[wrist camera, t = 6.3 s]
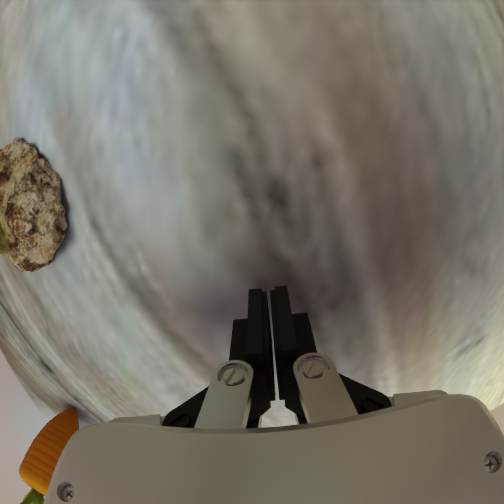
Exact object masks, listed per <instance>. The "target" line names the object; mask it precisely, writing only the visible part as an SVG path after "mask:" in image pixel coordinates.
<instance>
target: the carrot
mask: <svg viewBox="0 0 504 504" xmlns="http://www.w3.org/2000/svg"><path fill="white" fill-rule="evenodd" d="M77 430H79V423H78V415H77V412H76V410H75V408H70V409H67V410H65V411H63V412H62V413H60V414H58V415H57V416H55V417H54V418H53V419H51V420H50V421H49V422H48V423H47V424H46V425H45V427H44V428H43V429H42V430H41V431H40V432H39V434H38V435H37V436H36V438H35V439H34V440H33V442H32V444H31V446H30V447H29V450H28V451H27V453H26V455H25V457H24V459H23V461H22V463H21V465H20V469H19V474H20V476H21V478H22V479H23V481H24V482H25V483H26V484H27V485H29V486H30V487H31V488H32V489H31V491H30V492H29V493H28V494H27V495H26V497H25V498H24V500H23V502H22V503H20V504H31V503H32V502H33V503H32V504H44V501H45V500H44V498H43V496H46V494H47V491H48V488H49V484H50V481H51V478H52V475H53V473H54V470H55V467H56V465H57V463H58V460H59V458H60V456H61V453H62V451H63V449H64V448H65V446H66V444H67V442H68V441H69V439H70V438H71V436H72V435H73V434H74V433H75V432H76V431H77Z"/></svg>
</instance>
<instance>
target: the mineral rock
mask: <svg viewBox="0 0 504 504" xmlns="http://www.w3.org/2000/svg"><path fill="white" fill-rule="evenodd" d="M50 167H51V166H50V164H49V162H48V161H46V160H45V159H44V157H43V156H42V155H40V154H38V152H37V151H36V149H35V147H34V145H33V144H32V143H31V144H30V143H29V142H28V141H27V142H23V141H22V140H20V138H16V139H14V141H13V142H12V143H11V144H9V145H7V146H6V147H5V148H4V149H1V150H0V254H4V255H5V256H7V257H8V258H9V260H10V262H11V263H12V264H13V265H15V266H16V267H17V268H18V269H20V270H21V271H22V272H23V271H24V270H26V271H31V272H34V271H36V270H38V269H40V268H42V267H44V266H46V265H48V264H50V263H51V262H50V260H51V259H52V258H53V256H54V253H55V252H56V249H58V248H59V246H60V245H61V243H62V241H63V238H64V237H65V229H66V228H67V226H68V224H67V223H66V220H65V215H64V213H65V212H66V211H65V209H64V207H63V205H62V203H61V186H62V185H61V179H60V176H59V174H58V173H56V172H55V171H53V170H52V169H50Z"/></svg>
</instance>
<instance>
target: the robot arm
mask: <svg viewBox="0 0 504 504" xmlns="http://www.w3.org/2000/svg"><path fill="white" fill-rule="evenodd" d="M270 296H271V309H272V322H273V336H274V350H275V360H276V370H277V379H278V389H279V399H280V400H284V399H285V407H286V408H288V409H289V410H291V411H293V412H294V413H295V419H296V422H297V425H291V426H281V427H268V428H261V423H262V414H264V413H265V412H266V411H267V410H268V409H269V408H271V404H270V401H274V400H275V384H274V366H273V350H272V336H271V327H270V319H269V310H268V301H267V293H266V291H262V290H261V288H260V289H250V290H249V298H248V319H236V320H234V322H233V330H232V339H231V348H230V357H229V361H227V362H224V363H222V364H221V365H219V366H218V367H217V368H216V370H215V371H214V374H213V376H212V379H211V382H210V385H209V386H208V387H207V388H205V389H204V390H202V391H201V392H199V393H198V394H197V395H195V396H194V397H192V398H191V399H189V400H188V401H186V402H184V403H183V404H181V405H180V406H178V407H177V408H175V409H174V410H172V411H171V412H169V413H168V414H167V415H166V416H162V417H161V415H160V414H158V415H148V416H136V417H121V418H115V419H113V420H111V421H109V423H100V424H94V425H89V426H86V427H83V428H81V429H79V430H77V431H76V432H75V433H74V434H73V435H72V436H71V438H70V439H69V441H68V442H67V444H66V446H65V448H64V449H63V451H62V453H61V456H60V458H59V460H58V463H57V465H56V467H55V470H54V473H53V475H52V478H51V481H50V484H49V488H48V491H47V494H46V498H45V501H44V504H504V436H503V434H502V432H501V430H500V428H499V426H498V424H497V422H496V420H495V419H494V417H493V415H492V414H491V413H490V411H489V410H488V408H487V407H486V406H485V405H484V404H483V403H482V402H481V401H480V400H479V399H477V398H476V397H473V396H470V395H463V394H447V393H446V392H444V391H442V390H431V391H422V392H412V393H400V394H393V397H387V396H386V395H384V394H383V393H381V392H378V391H376V390H374V389H371V388H369V387H367V386H365V385H363V384H360V383H358V382H356V381H354V380H352V379H349V378H347V377H345V376H343V375H341V374H339V373H338V372H337V370H336V368H335V366H334V364H333V362H332V360H331V359H330V358H329V357H328V356H326V355H324V354H321V353H317V350H316V346H315V342H314V338H313V333H312V329H311V325H310V321H309V317H308V314H307V312H306V313H297V314H292V313H291V307H290V301H289V296H288V290H287V286H279V287H275V290H272V291H270Z"/></svg>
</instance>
